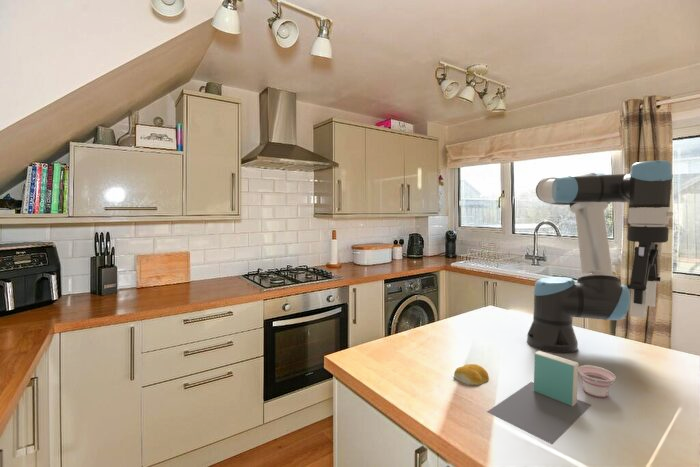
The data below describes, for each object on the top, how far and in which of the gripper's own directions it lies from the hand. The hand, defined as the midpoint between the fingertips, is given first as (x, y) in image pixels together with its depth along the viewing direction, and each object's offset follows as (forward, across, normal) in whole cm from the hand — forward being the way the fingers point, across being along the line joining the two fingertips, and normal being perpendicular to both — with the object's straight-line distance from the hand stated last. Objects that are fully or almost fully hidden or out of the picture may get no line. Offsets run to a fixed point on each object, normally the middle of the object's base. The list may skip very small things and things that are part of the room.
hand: (643, 311), depth 85 cm
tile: (+21, -17, +14) cm, 31 cm away
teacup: (+22, -8, +8) cm, 25 cm away
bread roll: (+22, -24, +33) cm, 46 cm away
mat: (+22, -25, +14) cm, 36 cm away
